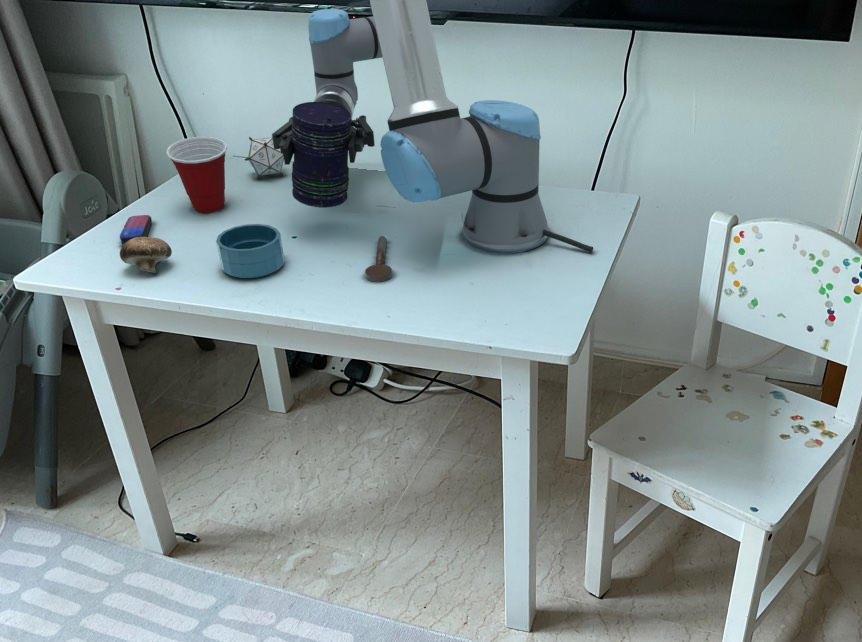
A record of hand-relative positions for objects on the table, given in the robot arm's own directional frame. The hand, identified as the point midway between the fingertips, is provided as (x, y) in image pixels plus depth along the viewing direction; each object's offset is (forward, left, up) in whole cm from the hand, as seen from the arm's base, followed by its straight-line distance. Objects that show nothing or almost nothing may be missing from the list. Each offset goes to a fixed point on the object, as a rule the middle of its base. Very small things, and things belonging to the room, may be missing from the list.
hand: (318, 155), depth 149 cm
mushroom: (+25, +16, -16) cm, 35 cm away
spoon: (-11, +4, -16) cm, 20 cm away
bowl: (+9, +11, -16) cm, 22 cm away
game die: (+26, -27, -16) cm, 41 cm away
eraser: (+35, +5, -16) cm, 39 cm away
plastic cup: (+29, -9, -16) cm, 35 cm away
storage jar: (+4, -5, -10) cm, 12 cm away
